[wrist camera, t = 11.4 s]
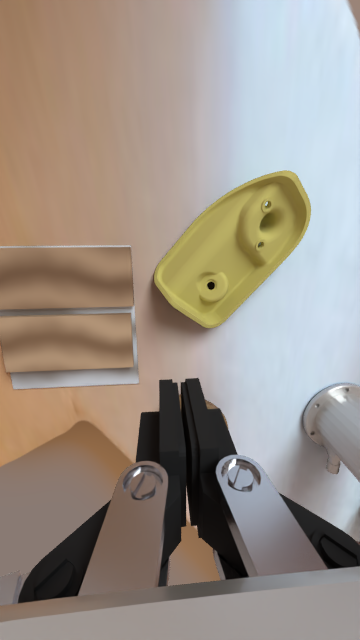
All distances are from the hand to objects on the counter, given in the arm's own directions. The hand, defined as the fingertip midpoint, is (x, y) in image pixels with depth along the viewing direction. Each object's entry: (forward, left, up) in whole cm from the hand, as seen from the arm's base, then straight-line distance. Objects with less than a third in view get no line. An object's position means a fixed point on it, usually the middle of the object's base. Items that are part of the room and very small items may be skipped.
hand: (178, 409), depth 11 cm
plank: (-6, +14, -27) cm, 31 cm away
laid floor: (-4, +14, -27) cm, 31 cm away
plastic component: (+6, -9, -28) cm, 30 cm away
